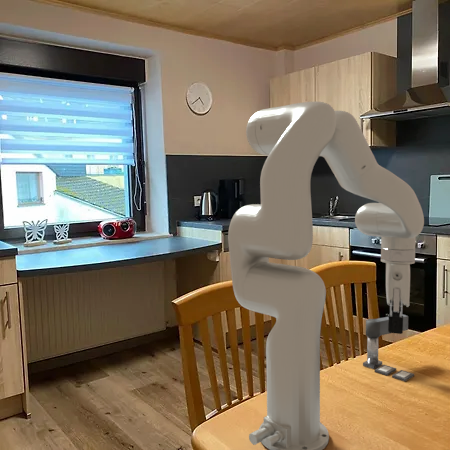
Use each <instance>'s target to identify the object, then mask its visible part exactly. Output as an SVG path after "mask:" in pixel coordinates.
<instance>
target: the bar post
mask: <svg viewBox="0 0 450 450" xmlns="http://www.w3.org/2000/svg"><path fill="white" fill-rule="evenodd" d="M366 337H367V340H366V341H367V345H366V346H367V349H366V352H367V353H366V354H367V355H366V357H367V358H366V360H365V361H363V362H362V366H363V367H366V368H368V369H372V370H375V369H377V368H379V367H381V366H382V365H383V361H381V360H379V337H376V338H373V337H368V336H366Z"/></svg>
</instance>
